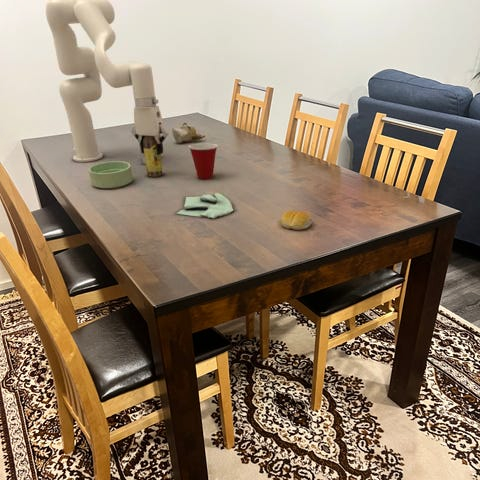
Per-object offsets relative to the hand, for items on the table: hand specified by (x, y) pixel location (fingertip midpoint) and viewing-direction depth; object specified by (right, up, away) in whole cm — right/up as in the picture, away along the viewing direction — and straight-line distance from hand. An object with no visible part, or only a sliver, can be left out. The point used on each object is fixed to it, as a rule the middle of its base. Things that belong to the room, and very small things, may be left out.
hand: (152, 152), depth 183 cm
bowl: (-15, -12, -1) cm, 19 cm away
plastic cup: (+20, -9, +1) cm, 22 cm away
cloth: (+23, -26, -24) cm, 42 cm away
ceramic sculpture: (+8, +21, +47) cm, 52 cm away
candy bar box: (-4, +4, +22) cm, 23 cm away
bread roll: (+50, -36, -40) cm, 74 cm away
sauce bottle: (0, -7, +5) cm, 9 cm away
